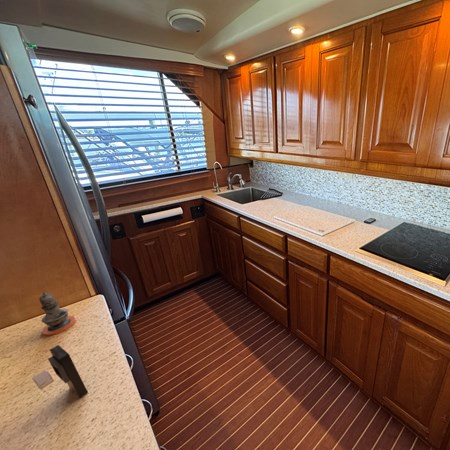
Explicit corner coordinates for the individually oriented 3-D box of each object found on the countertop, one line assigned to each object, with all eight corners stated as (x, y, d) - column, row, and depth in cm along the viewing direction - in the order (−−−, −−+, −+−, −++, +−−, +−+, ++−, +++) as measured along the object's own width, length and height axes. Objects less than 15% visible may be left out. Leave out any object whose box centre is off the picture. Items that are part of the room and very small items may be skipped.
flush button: (49, 377, 51) (43, 367, 50) (55, 383, 49) (49, 373, 48) (36, 385, 49) (30, 375, 48) (42, 392, 48) (36, 382, 47)
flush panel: (77, 382, 56) (58, 344, 52) (88, 392, 54) (68, 353, 50) (65, 391, 54) (44, 352, 50) (75, 401, 52) (54, 362, 48)
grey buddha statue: (46, 324, 73) (29, 292, 69) (71, 314, 77) (57, 283, 72) (45, 335, 69) (28, 301, 65) (72, 324, 73) (57, 292, 69)
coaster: (36, 333, 71) (35, 331, 70) (64, 315, 77) (64, 314, 77) (55, 337, 69) (54, 336, 69) (82, 318, 76) (82, 317, 76)
